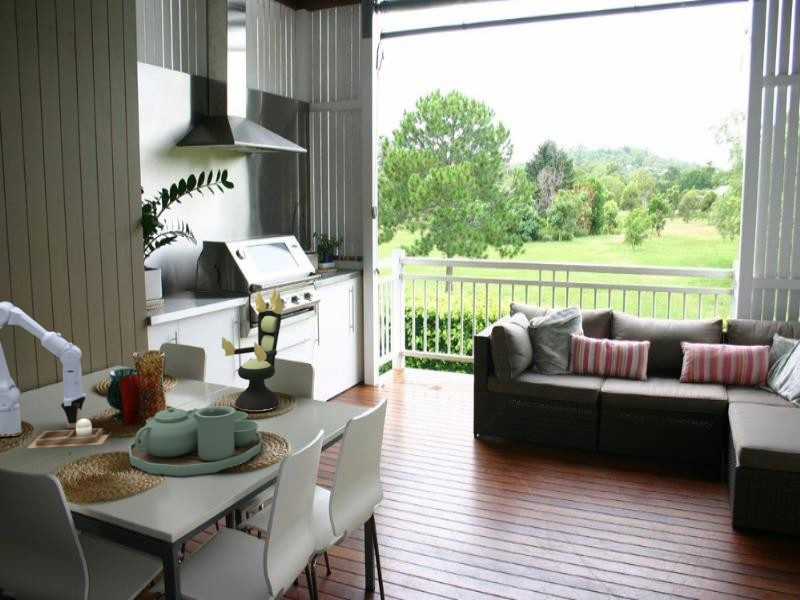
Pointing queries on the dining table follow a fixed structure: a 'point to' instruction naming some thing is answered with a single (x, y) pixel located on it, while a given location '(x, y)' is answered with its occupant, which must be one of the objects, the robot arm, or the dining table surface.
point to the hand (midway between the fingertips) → (74, 420)
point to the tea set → (194, 441)
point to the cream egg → (83, 428)
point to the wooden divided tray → (67, 439)
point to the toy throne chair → (260, 356)
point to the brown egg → (79, 416)
